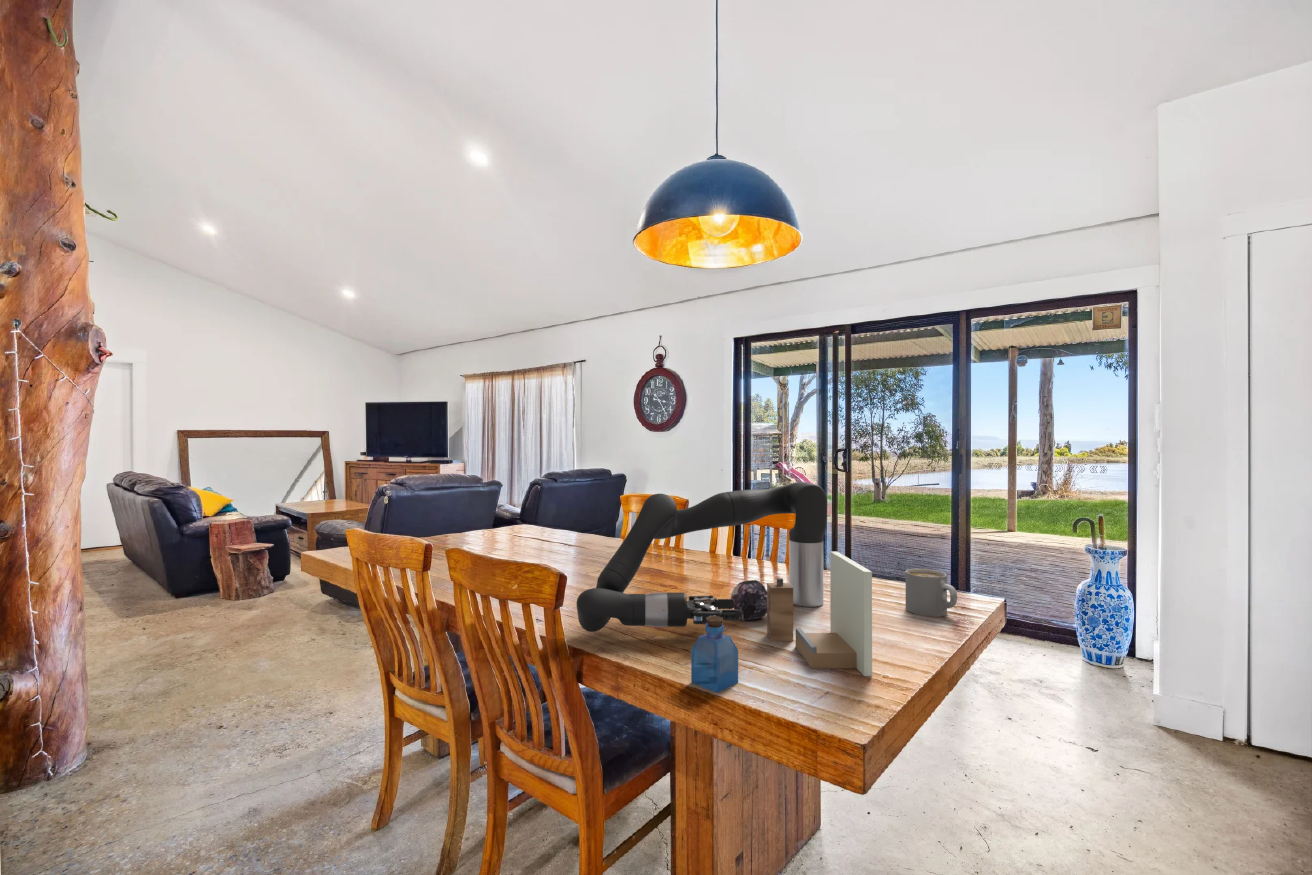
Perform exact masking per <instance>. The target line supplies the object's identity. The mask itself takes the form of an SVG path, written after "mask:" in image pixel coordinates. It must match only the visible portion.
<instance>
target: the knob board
mask: <svg viewBox="0 0 1312 875" xmlns="http://www.w3.org/2000/svg"><path fill="white" fill-rule="evenodd" d="M766 591H767V613H766V635H767V637H768V639H769V640H770V641H771V642H794V604H793V587H792V586H791V585H790V584H789V582H784V578H782V577H776V582H766Z"/></svg>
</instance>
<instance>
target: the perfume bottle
mask: <svg viewBox="0 0 1312 875" xmlns="http://www.w3.org/2000/svg"><path fill="white" fill-rule="evenodd" d="M706 619H707V624H704V625H705V626H704V627H705V631H706V633H705V634H702V635H700V636H699V637H698V638H697V639H696V641H695V643H694V645H693V646H692V648H691V651H690V653H691V655H690V656H691V657H690V660H691V662H690V664H691V665H690V666H691V670H690V671H691V672H690V674H691V676H690V677H691V678H690V681H691V684H694V685H697V686H699V687H701V688H704V689H707V690H709V691H712V692H713V693H716V694H717V693H720V692H722V691H724V690H726V689H729V688H730V687H733V686H734V685H736V684H738V683H739V648H738V647H737V646H736V643H735V642H734V641H733V640H732V638H731V636H729V635H728V634H727V635H726V634H723V633H724V632H725V624H723V621H724V620H723V618H722V617H719V616H715V615H714V616H709V617H707V618H706Z"/></svg>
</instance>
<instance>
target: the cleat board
mask: <svg viewBox="0 0 1312 875" xmlns="http://www.w3.org/2000/svg"><path fill="white" fill-rule="evenodd" d="M829 559H830V560H829V561H830V565H829V566H830V569H829V570H830V573H829V574H830V575H829V576H830V577H829V579H830V580H829V581H830V586H829V587H830V589H829V590H830V598H829V599H830V604H829V606H830V607H829V608H830V610H829V611H830V617H829V618H830V622H829V623H830V628H829V629H830V632H804V630H803V629H802V628H801V627H795V649H797V651H798V652H799V654H800V655H801V656H802V657H803V659H804V660H805V662H806V663H807V664H808V665H809V668H811V669H857V670H858V671H859V672H860V673H861V675H863V676H864V677H872V676H873V572H872V571H871V570H870V569H868V568H867V567H864V566H862V565H861V564H859V563H858V562H856V561H854V560H852V559H850V558H849V557H848V556H846V555H844V554H843V553H840V552H839V551H830V556H829Z"/></svg>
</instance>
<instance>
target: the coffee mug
mask: <svg viewBox="0 0 1312 875" xmlns="http://www.w3.org/2000/svg"><path fill="white" fill-rule="evenodd" d="M948 592H949V594H950V599H949V600H950V601H948ZM957 602H958V592H957V590H956V588H955V587H954V586H953V585H951V584H948V575H947V573H946V572H944V571H941V570H936V569H928V568H910V569H906V570H905V610H906V611H907V612H908V613H912V614H915V615H918V616H924V617H942V616H943V617H944V616H946V615H948V614H947V613H948V609H952V608H955V606H956V604H957Z"/></svg>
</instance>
